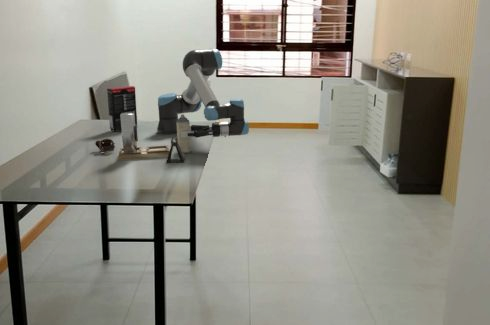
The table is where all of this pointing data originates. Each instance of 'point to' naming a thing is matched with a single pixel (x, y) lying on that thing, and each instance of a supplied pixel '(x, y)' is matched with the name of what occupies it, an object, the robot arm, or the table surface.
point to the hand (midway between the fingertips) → (179, 132)
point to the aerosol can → (183, 126)
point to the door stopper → (177, 151)
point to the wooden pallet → (145, 153)
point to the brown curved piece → (105, 145)
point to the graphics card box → (121, 105)
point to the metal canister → (129, 132)
